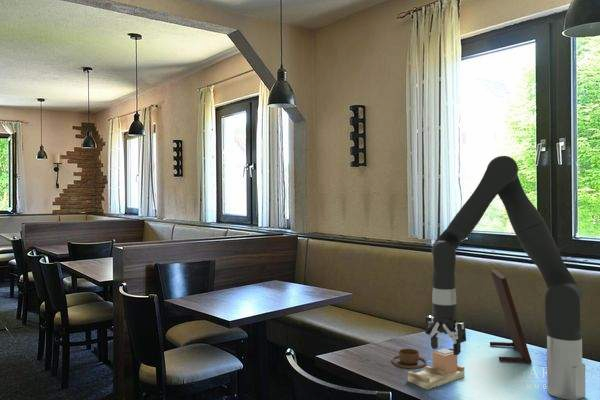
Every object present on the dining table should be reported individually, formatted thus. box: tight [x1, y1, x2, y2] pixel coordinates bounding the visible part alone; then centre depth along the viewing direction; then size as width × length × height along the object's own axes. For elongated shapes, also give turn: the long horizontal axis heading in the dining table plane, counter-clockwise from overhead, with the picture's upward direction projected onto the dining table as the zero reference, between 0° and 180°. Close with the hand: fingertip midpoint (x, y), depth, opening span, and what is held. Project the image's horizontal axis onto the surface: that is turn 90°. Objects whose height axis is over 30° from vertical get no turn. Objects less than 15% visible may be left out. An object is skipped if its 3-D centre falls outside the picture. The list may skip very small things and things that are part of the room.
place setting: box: [391, 348, 453, 369], centre depth 170 cm, size 18×20×6 cm
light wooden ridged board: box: [407, 364, 465, 391], centre depth 157 cm, size 8×18×3 cm, turn 125°
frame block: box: [432, 347, 458, 374], centre depth 160 cm, size 5×6×6 cm
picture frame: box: [489, 268, 533, 365], centre depth 182 cm, size 21×11×30 cm, turn 168°
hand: (445, 351), depth 159 cm, fingers open, 8 cm apart
